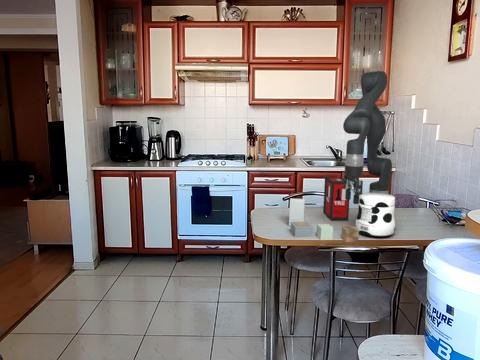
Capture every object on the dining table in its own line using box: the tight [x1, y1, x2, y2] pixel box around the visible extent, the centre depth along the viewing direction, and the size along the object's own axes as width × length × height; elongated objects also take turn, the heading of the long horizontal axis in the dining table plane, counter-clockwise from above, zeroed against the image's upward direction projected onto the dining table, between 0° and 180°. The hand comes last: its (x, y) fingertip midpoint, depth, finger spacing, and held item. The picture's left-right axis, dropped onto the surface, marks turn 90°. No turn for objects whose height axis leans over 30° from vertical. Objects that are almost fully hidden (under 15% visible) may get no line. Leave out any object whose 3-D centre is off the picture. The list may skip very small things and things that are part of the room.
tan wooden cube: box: [340, 225, 360, 243], centre depth 173 cm, size 6×6×6 cm
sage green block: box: [316, 223, 334, 241], centre depth 176 cm, size 6×6×6 cm
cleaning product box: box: [322, 176, 350, 222], centre depth 210 cm, size 16×9×20 cm, turn 2°
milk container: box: [355, 192, 396, 238], centre depth 181 cm, size 17×17×18 cm
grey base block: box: [290, 221, 314, 238], centre depth 181 cm, size 8×8×5 cm
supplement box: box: [288, 198, 306, 227], centre depth 195 cm, size 7×7×13 cm
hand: (351, 201), depth 171 cm, fingers open, 8 cm apart
